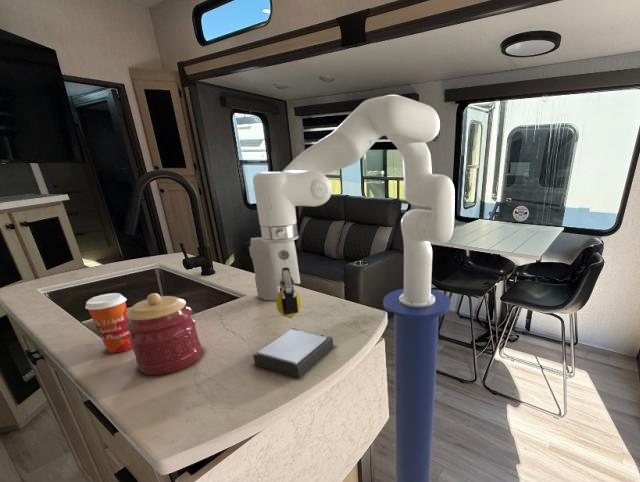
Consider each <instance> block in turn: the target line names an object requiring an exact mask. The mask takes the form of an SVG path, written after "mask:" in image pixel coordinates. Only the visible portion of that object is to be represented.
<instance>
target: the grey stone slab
mask: <svg viewBox="0 0 640 482" xmlns="http://www.w3.org/2000/svg"><path fill="white" fill-rule="evenodd" d="M248 249H249V256H250V258H251V260H252V266H253V270H254V281H255V288H256V295H257V298H259V299H262V300H264V301H276V298H277V295H278V293H279V292H280V286H278V285H277V281H276V278H275V274H274V270H273V266H272V261H271V255H270V249H269V242H264V241H262V237H251V238H250V246H249V247H248Z"/></svg>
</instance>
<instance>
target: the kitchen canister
mask: <svg viewBox="0 0 640 482" xmlns="http://www.w3.org/2000/svg"><path fill="white" fill-rule="evenodd" d="M186 304H187V302H186V300H185V299H183V298H179V297H176V296H173V295H160V294H158V293H157V292H153V293H150V294H148V295H147V297H146V299H144V300H140V301H138V302H137V303H135V304H134V305H132V306H131V307H130V308H129V309H127V312H126V314H125V316H126V317H127V318H128V319H127V320H126V321H125V323H124V328H125V329H126V330H128V331H129V333H130V335H129V337H128V340H129V342H131V345H132V351H133V353H134V356H135V357H134V358H135V363H136V366H137V367H138V369H139V370H140V372H142V373H143V374H145V375H149V376H150V375H151V376H157V375H166V374H170V373H174V372H177V371H180V370H182V369H184V368H186V367H189V366H190V365H191V364H193V363H195V362H196V361H197V360H198V359H199V358H200V357H201V355H202V344H201V341H200V339H199V335H198V331H197V327H196V321H195V320H194V318H192V314H193V308H191V307H190V306H188V305H186Z"/></svg>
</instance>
